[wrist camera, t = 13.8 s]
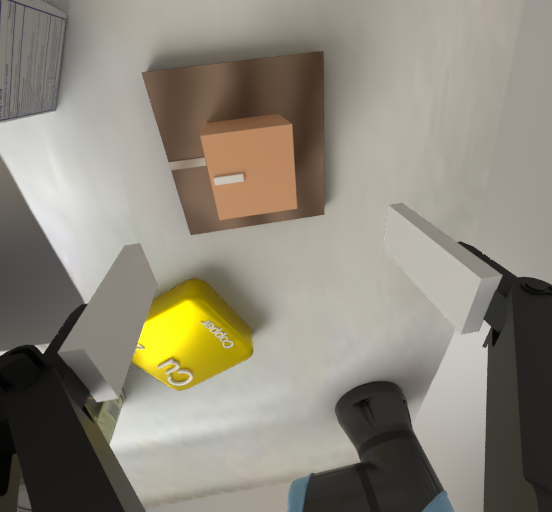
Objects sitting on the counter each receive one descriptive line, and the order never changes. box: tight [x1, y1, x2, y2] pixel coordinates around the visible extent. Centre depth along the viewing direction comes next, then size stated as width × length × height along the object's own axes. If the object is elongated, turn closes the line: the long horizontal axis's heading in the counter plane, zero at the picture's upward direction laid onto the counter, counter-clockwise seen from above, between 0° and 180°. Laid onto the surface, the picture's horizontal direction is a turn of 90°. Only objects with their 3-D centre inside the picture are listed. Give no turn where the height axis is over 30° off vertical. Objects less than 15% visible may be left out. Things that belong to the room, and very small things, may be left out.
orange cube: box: [200, 114, 297, 220], centre depth 26 cm, size 7×7×7 cm
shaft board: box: [142, 51, 324, 235], centre depth 28 cm, size 16×16×6 cm
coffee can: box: [17, 390, 125, 512], centre depth 42 cm, size 10×10×14 cm
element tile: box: [132, 279, 253, 391], centre depth 41 cm, size 15×15×5 cm
